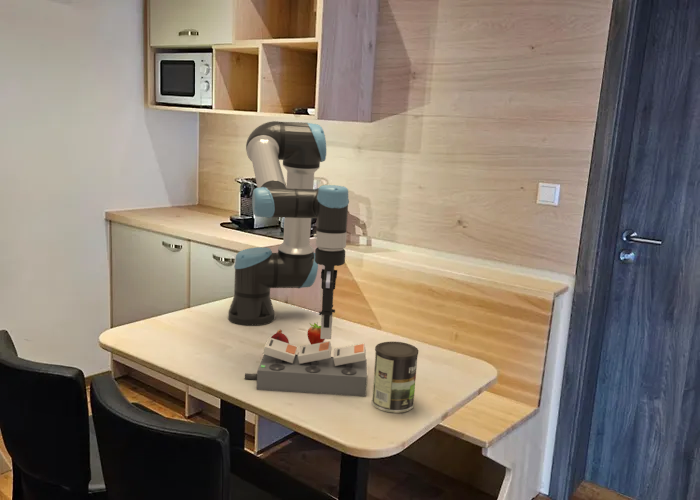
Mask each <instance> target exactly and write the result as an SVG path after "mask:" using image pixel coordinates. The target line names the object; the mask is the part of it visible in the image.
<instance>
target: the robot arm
mask: <svg viewBox="0 0 700 500" xmlns="http://www.w3.org/2000/svg"><path fill="white" fill-rule="evenodd" d="M245 151H246V155H247V157H248V159H249V161H250V162H252V168H253V172H254V173H253V174H254V177H255V182H256V188H254V189H253V192H252V197H251V198H252V200H251V202H252V203H251V204H252V205H251V207H252V213H253V215H254V216H255V217H258V218H260V217H261V218H266V219H274V218H275V219H277V218H278V219H279V218H283V219H284V222H283V224H284V226H283V238H282V239H283V242H282V243H281V244H280V245H278V249H277V252H273V251H272V249H271V248H269V247H261V246H260V247H259V246H257V247H250V248H245V249H243V250H240V251H238V252H237V253H236V255H235V257H234V258H235V260H234V265H233V266H234V267H233V268H234V287H233V288H234V291H233V293H234V295H233V297H232V301H231V303H230V307H229V309H228V312H227V313H228V314H227V316H228V317H227V318H228V320H229V321H230V322H231V323H233V324H236V325H241V326H262V325H267V324H270V323H272V322H274V321H275V317H276V316H275V315H276V314H275V313H276V312H275V309H274V305H273V303H272V299H271V289H303V288H310V287H312V286H313V285H314V283H315V282H316V279H317V275H318V270H319V266H324V268H321V271H320V274H321V275H320V279H321V285H320V286H321V289H322V302H321V311H319V312H318V313H319V314H318V315H319V316H321V319H320V321H321V322H320V326H321V338H320V339H325V340H332V333H333V332H332V331H333V329H332V327H333V314H334V313H336V309H334V308H333V307H334V304H333V303H334V290H335V289H336V286H337V285H336V283H337V277H338V269H335V267H339V266H340V267H341V266H342V265H344V264H345V263H346V250H345V248H346V247H347V235H348V234H347V233H348V232H347V229H348V227H347V226H348V213H349V203H350V201H349V200H350V199H349V189H348V188H347V187H346V186H344V185H343V186H342V185H335V184H325V185H321V186H319V187H316V188H314V186H315V185H314V184H315V182H314V181H315V172H317V171H318V170H319V169H320V167H321V166H320V165H321V163H323V162H325V161H326V159H327V142H326V135H325V132H324V129H323V127H322V126H321V125H320V124H316V123H313V122H295V121H294V122H293V121H278V120H277V121H276V120H275V121H274V120H272V121H267V122H265V123H262V124H261V125H258V126H257V127H256V128H254V129H253V130H252V131H251V132H250V134H249V135H248V137H247V140H246V144H245ZM280 161H282V166H283V167H284V168H285V169H286V181H285V177H284V174H283V170H282V166H281V163H280ZM312 219H316V233H313V238H316V239H315V246H316V248H315V249H314V247H312V245H311V244H310V242H311V241H310V240H311V230H312V229H311V226H312Z"/></svg>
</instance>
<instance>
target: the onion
mask: <svg viewBox="0 0 700 500" xmlns="http://www.w3.org/2000/svg"><path fill="white" fill-rule="evenodd" d="M270 338H273V339H276V340H279V341H282V342H286V343H289V344H290V340H289V338H288V337H287V335H286V334H285V333H283V330H281V329H278V330H277V331H276V333H274V334H273V335H271V336H270Z"/></svg>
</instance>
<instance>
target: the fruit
mask: <svg viewBox="0 0 700 500" xmlns="http://www.w3.org/2000/svg"><path fill="white" fill-rule="evenodd" d="M309 325H310V326H311V327H309V329H308V330H307V339H308V342H309V345H311V344H317V343H322V342H325V340H326V339H320V338H321V325H319V324H318V323H317V322H314V323H313V324H312V323H309Z"/></svg>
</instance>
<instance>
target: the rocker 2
mask: <svg viewBox="0 0 700 500" xmlns="http://www.w3.org/2000/svg"><path fill="white" fill-rule="evenodd" d="M332 350H333V349H332V344H331V341H330V340H329V341H324V342H322V343H317V344H306V345H301V346H300V347H299V351H298V353H297V355H298V359H299V363H300V364H301V363H306V362H311V361H317V360H322V359H327V358H330V357H332V356H331V355H332Z"/></svg>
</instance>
